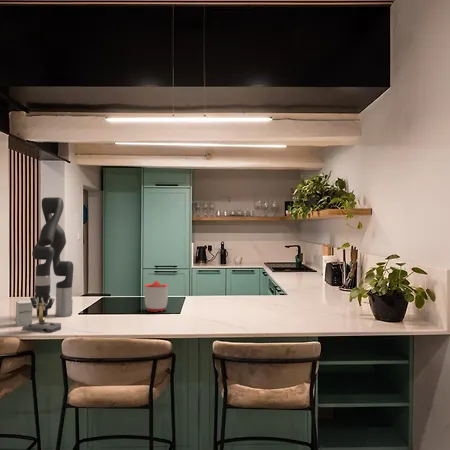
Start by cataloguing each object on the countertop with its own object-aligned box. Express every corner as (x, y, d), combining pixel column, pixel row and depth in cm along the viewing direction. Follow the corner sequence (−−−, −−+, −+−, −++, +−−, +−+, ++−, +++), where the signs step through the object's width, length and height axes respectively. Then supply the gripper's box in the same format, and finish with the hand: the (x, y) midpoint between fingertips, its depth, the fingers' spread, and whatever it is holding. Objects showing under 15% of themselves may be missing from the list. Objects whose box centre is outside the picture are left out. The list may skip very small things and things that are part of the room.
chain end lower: (31, 326, 227) (32, 322, 227) (52, 328, 224) (52, 324, 224) (22, 329, 220) (22, 325, 220) (43, 331, 217) (43, 327, 217)
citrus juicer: (170, 308, 285) (171, 279, 285) (164, 313, 268) (165, 282, 268) (148, 307, 287) (149, 278, 287) (140, 312, 269) (141, 281, 270)
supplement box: (17, 326, 227) (18, 303, 227) (15, 323, 233) (15, 301, 233) (32, 324, 231) (33, 302, 231) (29, 322, 237) (30, 300, 237)
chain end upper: (40, 327, 226) (40, 320, 226) (60, 329, 222) (61, 322, 222) (31, 330, 219) (31, 323, 219) (52, 332, 215) (52, 325, 216)
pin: (41, 320, 223) (41, 302, 223) (47, 321, 222) (47, 302, 223) (36, 322, 220) (37, 303, 220) (42, 322, 219) (42, 303, 219)
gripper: (58, 283, 223) (58, 316, 223) (36, 282, 227) (35, 314, 227) (49, 285, 216) (48, 319, 216) (26, 284, 219) (25, 317, 219)
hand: (42, 316), depth 221 cm, fingers closed on pin, 3 cm apart
